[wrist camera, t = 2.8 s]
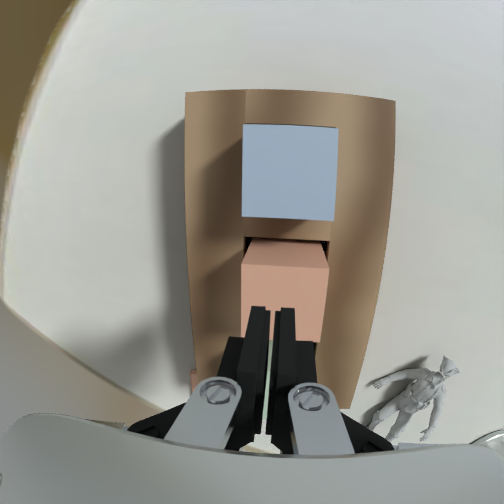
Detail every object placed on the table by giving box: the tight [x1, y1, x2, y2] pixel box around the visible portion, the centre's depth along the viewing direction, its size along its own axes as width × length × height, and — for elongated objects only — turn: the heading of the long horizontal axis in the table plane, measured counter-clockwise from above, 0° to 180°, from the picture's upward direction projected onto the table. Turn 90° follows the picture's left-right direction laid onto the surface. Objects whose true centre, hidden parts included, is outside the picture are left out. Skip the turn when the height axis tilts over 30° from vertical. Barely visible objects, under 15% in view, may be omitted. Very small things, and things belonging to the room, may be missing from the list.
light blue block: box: [242, 124, 339, 221], centre depth 16 cm, size 4×4×6 cm
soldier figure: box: [366, 355, 460, 442], centre depth 23 cm, size 8×5×12 cm
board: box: [185, 89, 395, 409], centre depth 21 cm, size 12×22×4 cm, turn 179°
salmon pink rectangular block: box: [241, 237, 329, 342], centre depth 18 cm, size 4×4×6 cm
